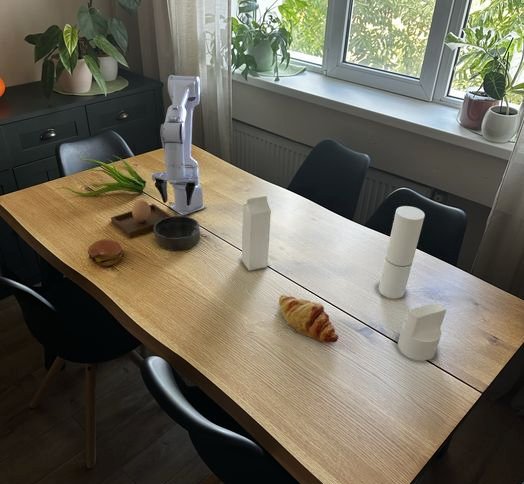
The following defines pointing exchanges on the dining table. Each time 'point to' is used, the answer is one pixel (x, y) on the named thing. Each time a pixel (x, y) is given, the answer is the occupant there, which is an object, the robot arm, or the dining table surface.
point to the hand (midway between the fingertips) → (177, 202)
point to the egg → (141, 211)
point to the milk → (256, 233)
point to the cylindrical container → (401, 251)
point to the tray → (137, 228)
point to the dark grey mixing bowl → (176, 232)
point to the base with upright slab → (422, 331)
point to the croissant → (308, 318)
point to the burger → (105, 252)
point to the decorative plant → (123, 180)
